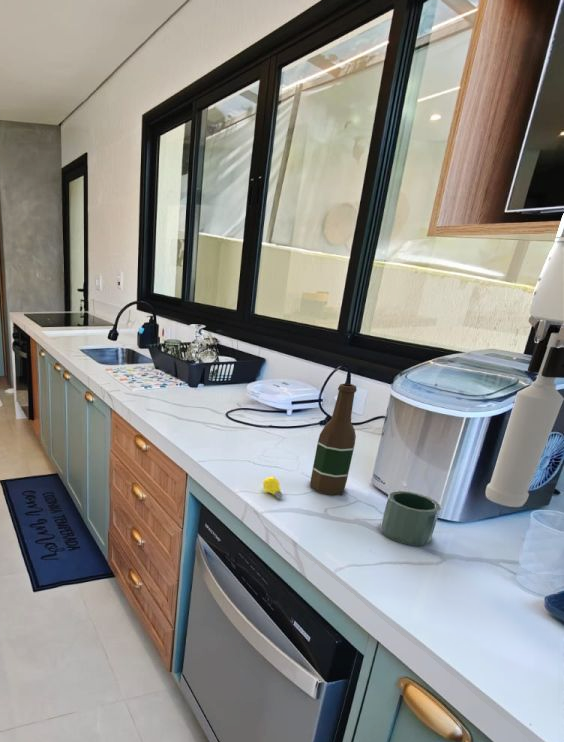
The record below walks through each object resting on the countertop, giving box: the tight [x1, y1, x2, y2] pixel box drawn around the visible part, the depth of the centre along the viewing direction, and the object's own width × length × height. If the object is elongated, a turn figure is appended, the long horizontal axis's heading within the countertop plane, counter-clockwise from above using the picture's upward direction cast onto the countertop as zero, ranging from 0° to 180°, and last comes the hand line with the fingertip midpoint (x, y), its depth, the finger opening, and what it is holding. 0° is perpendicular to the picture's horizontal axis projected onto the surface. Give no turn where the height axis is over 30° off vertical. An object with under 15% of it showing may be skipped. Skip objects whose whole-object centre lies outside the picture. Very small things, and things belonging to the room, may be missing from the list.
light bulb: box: [262, 476, 284, 499], centre depth 110 cm, size 3×6×4 cm, turn 17°
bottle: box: [485, 333, 564, 508], centre depth 72 cm, size 5×5×25 cm
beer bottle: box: [309, 383, 357, 496], centre depth 110 cm, size 8×8×24 cm
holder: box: [380, 490, 441, 547], centre depth 95 cm, size 8×8×7 cm
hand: (547, 373), depth 70 cm, fingers closed on bottle, 2 cm apart
